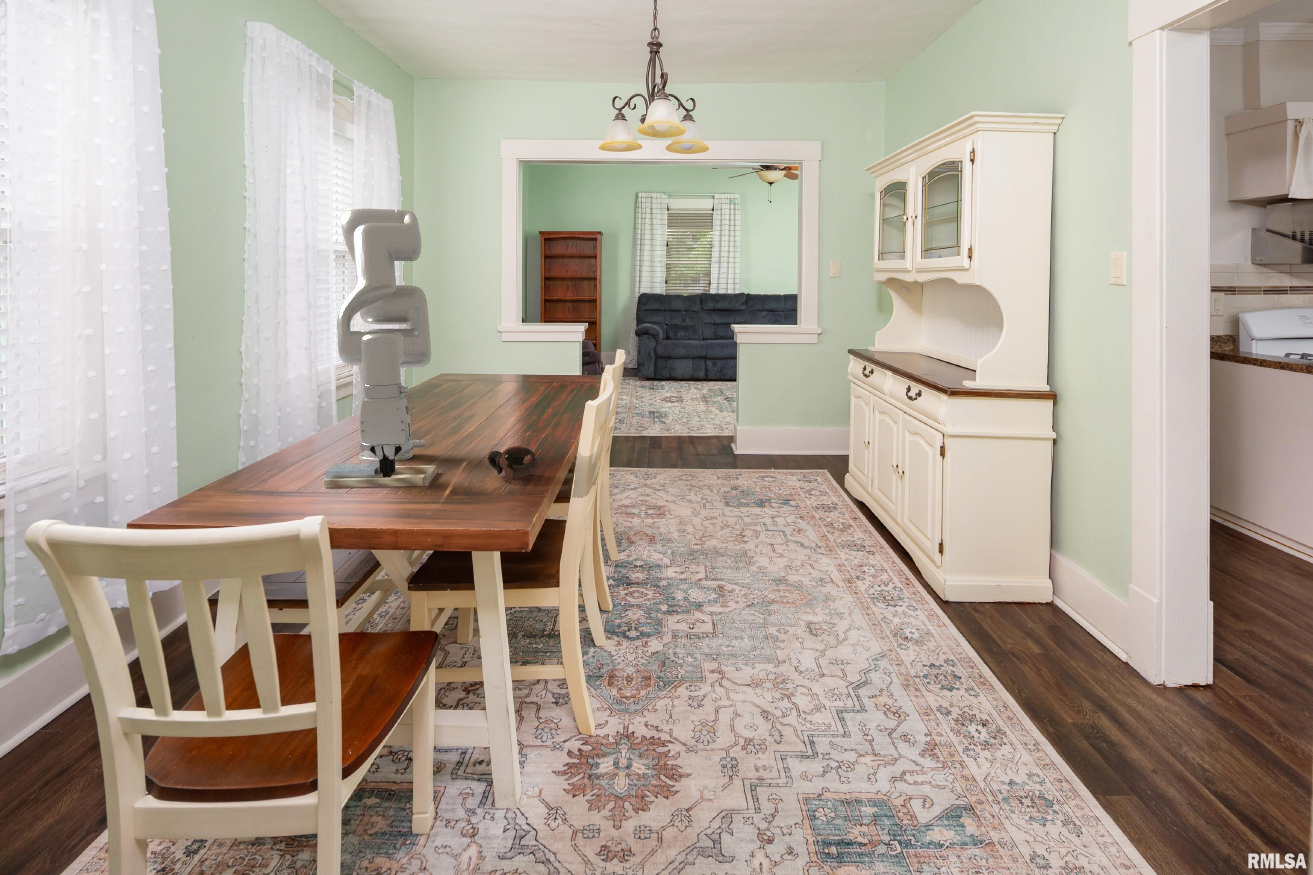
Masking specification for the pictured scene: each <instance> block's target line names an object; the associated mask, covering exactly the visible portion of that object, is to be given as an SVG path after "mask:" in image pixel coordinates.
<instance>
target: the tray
mask: <svg viewBox="0 0 1313 875" xmlns="http://www.w3.org/2000/svg"><path fill="white" fill-rule="evenodd" d="M437 466H438V465H395V473H393V475H392V476H391V477H385V478H383V476H382V477H381V478H353V479H326V478H324V480H323V484H324V485H323V487H324V489H331V488H332V489H334V488H335V489H336V488H379V487H380V488H381V487H384V488H386V487H389V488H391V487H394V488H395V487H428V486H429V485H430V483H431V481H432V480H433V478H434V477H435V476H436V475H437V472H438V469H437Z"/></svg>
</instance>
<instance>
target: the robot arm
mask: <svg viewBox="0 0 1313 875" xmlns="http://www.w3.org/2000/svg"><path fill="white" fill-rule="evenodd" d="M340 222H341V223H340V224H341V231H342V236H343V240H344V242H345V246H346V249H347V250H348V253H349V255H350V256H351V259H352V262H353V265H354V269H355V270H354V271H355V289H354V290H353V291H352V292H351V293H350V294H349V295H348V296H347V297H346V299H344V301H343V302H342V305H341V306H340V309H339V311H338V314H337V321H336V330H337V350H338V355H339V359H340V360H341V361H342V362H343V364H345V365H348V366H357V367H358V371H359V372H358V373H359V377H360V378H359V380H360V390H361V402H360V410H359V441H360V444H359V445H360V446H359V449H360V450H361V451H363V452H361V453H359V454H358V459H359V461H362V462H363V461H365V462H376V463H379V466H380V473H382V474H383V478H385V477H391V476H392V475H393V473H395V466H396V461H406V460H409V459H411V458H412V457H413V455H414V454H413V450H414V449H422V448H423V449H425V448H426V440H425V439H420V440H418V439H412V424H411V416H410V410H409V405H408V401H407V398H406V397H405V396H404V394H407V393H409V386H405V385H403V383H402V378H401V369H412V368H413V369H415V368H416V369H417V368H424V367H426V366H428V365H429V364H430V362H431V360H432V359H431V357H432V347H431V346H432V345H431V344H432V343H431V334H430V333H431V330H430V321H429V306H428V301H427V297H426V294H425V291H424V290H423V289H422V287H419V286H416V285H413V284H412V285H411V284H409V285H408V284H407V285H406V284H405V285H404V284H402V285H401V284H397V280H396V265H395V262H415V261H417V260H419V258H420V257H421V254H422V236H421V231H420V225H419V224H420V223H419V221H418V218H417V215H416V214H415V212H413V211H411V210H407V209H391V208H390V209H388V208H387V209H385V208H355V209H354V208H353V209H349V210H347V211H346V212H344V213H343V215H342V216H341V221H340ZM358 313H359V315H360V318H361V320H362V321H363V322H364V323H366V324H370V325H375V326H376V325H379V326H381V325H387V326H393V325H396V326H397V325H399V326H400V325H403V326H404V325H405V326H408V327H409V328H370V329H366V330H351V322H352V320H353V319H354V317H355V316H356V315H357V314H358Z"/></svg>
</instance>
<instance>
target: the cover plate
mask: <svg viewBox="0 0 1313 875" xmlns="http://www.w3.org/2000/svg"><path fill="white" fill-rule="evenodd" d="M382 476H383V474H382V473H380V466H379V462H365V463H364V462H363V463H362V462H359V463H358V462H357V463H354V462H353V463H347V462H346V463H334V464H333V465H331V466H330V467H328V468H327V469H326V470H325V479H353V478H381V477H382Z"/></svg>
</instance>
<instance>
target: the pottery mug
mask: <svg viewBox="0 0 1313 875" xmlns="http://www.w3.org/2000/svg"><path fill="white" fill-rule="evenodd" d="M487 456H488V457H487V461H488V463H489V465H490V466H491V467H492V468H493V469H494V470H495V471H496V473H497V475H500V474H503V471H504V477H503V479H504V482H505V483H507V484H511V483H512V481H513V480H517V479H521V478H524V477H527V476H530V474H531V473H534V471H535V470H536V469H539V464H538V463H537V457H536V454H535V452H534V451H533V450H531V449H530V448H529V447H525V446H521V445H518V446H517V445H514V446H510V447H508V448H505V449H504V450H503V451H500V450H492V451H490V452H489V454H488V455H487ZM528 456H530V457H531V460H530V461H529V462H527V463H525V462H524V461H525V459H526V458H527V457H528Z"/></svg>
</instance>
